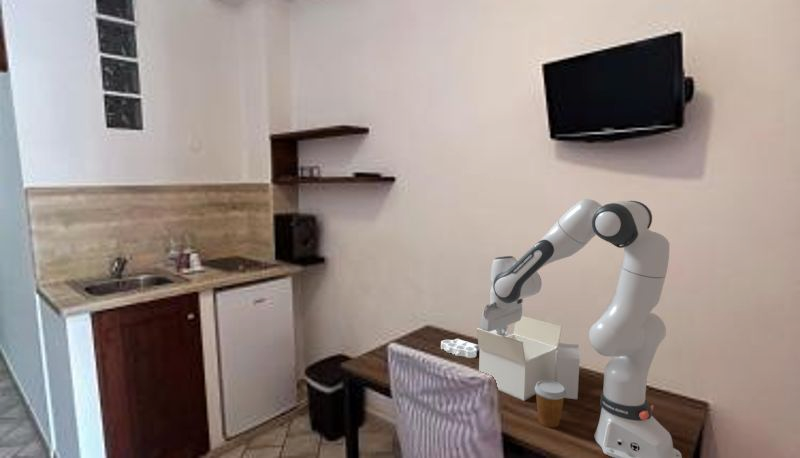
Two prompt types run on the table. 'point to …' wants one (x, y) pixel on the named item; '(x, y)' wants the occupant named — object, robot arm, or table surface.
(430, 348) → the table surface
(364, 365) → the table surface
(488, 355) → the carton
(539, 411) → the disposable coffee cup
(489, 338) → the near flap
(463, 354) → the knuckle duster
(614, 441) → the robot arm
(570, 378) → the milk carton
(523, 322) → the far flap
